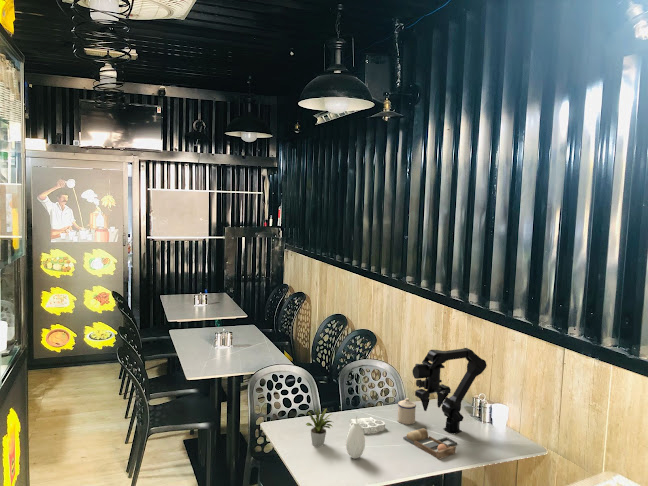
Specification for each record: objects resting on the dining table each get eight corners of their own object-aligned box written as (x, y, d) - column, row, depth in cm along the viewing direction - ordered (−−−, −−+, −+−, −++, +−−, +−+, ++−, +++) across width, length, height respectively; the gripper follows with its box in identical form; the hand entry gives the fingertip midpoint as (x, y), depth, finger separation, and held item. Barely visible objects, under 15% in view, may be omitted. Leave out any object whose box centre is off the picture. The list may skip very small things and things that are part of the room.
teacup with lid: (418, 423, 257) (420, 400, 256) (403, 426, 253) (404, 402, 253) (405, 414, 268) (406, 392, 267) (390, 416, 264) (391, 394, 264)
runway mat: (418, 434, 244) (418, 432, 244) (440, 446, 233) (441, 443, 232) (403, 439, 238) (403, 436, 238) (425, 451, 227) (425, 448, 227)
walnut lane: (430, 440, 239) (430, 433, 238) (455, 453, 226) (455, 446, 226) (413, 445, 232) (413, 438, 232) (438, 459, 220) (438, 452, 220)
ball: (442, 451, 228) (449, 453, 225) (436, 453, 226) (443, 455, 223) (441, 442, 229) (448, 443, 226) (435, 444, 227) (442, 445, 223)
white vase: (352, 451, 224) (354, 411, 223) (367, 457, 219) (369, 416, 218) (341, 457, 218) (343, 416, 217) (356, 464, 213) (358, 421, 212)
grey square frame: (446, 438, 241) (446, 437, 241) (457, 444, 235) (457, 442, 235) (436, 441, 237) (436, 440, 237) (447, 447, 232) (447, 445, 232)
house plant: (305, 454, 219) (307, 416, 218) (295, 440, 232) (297, 405, 231) (336, 449, 225) (338, 413, 224) (324, 436, 238) (326, 402, 237)
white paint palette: (376, 421, 258) (389, 433, 245) (343, 424, 253) (354, 437, 239) (377, 415, 258) (389, 426, 244) (343, 418, 253) (354, 430, 239)
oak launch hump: (420, 437, 243) (420, 426, 242) (427, 441, 238) (428, 430, 238) (406, 441, 237) (406, 430, 237) (413, 445, 233) (414, 434, 233)
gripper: (434, 369, 256) (433, 400, 257) (407, 375, 245) (406, 406, 246) (452, 376, 247) (450, 407, 248) (424, 381, 236) (422, 415, 237)
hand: (432, 409), depth 245 cm, fingers open, 9 cm apart
